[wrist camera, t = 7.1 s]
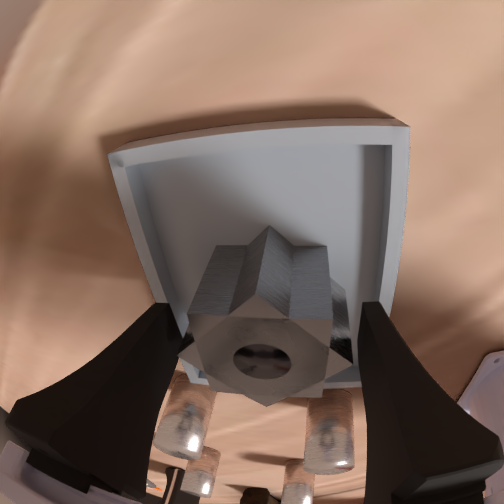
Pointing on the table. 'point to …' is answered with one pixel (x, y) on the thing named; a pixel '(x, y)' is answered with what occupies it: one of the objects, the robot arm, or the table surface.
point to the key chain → (151, 485)
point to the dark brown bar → (257, 496)
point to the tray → (270, 205)
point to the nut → (268, 321)
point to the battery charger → (176, 489)
